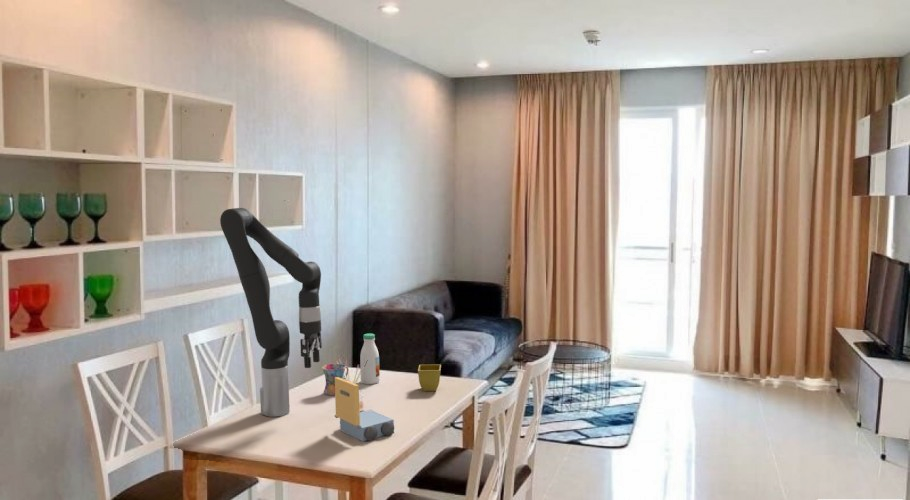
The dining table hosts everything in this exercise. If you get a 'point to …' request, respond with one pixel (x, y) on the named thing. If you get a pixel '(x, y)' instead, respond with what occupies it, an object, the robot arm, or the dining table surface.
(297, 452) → the dining table surface
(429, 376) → the flower pot
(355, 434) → the flatbed
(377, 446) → the dining table surface
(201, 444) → the dining table surface
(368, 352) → the milk bottle
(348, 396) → the yellow plate
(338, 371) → the mug
